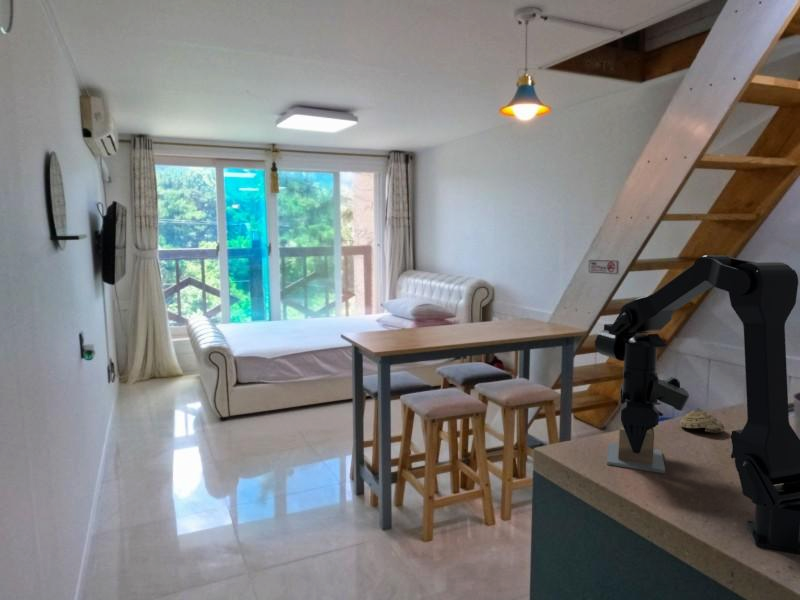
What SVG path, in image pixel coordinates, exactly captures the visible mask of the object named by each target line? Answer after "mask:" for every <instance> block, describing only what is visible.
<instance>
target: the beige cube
mask: <svg viewBox="0 0 800 600" xmlns="http://www.w3.org/2000/svg"><path fill="white" fill-rule="evenodd" d="M618 431H619V432H618V444H619V449H618V459H621V460H627V461H634V462H641V463H647V464H653V449H655V448H654V446H655V445H654V444H655V430H654V427H653V428H651V429H649V430H648V431H647V433H646V435H645V438H644V441H643V444H642V447H641V450H640V453H634V452H633V450H632V448H631V445H630V442H629V440H628V437H627V435H626V432H625V429H624V427H623V424H622V423H621V419H619V430H618Z"/></svg>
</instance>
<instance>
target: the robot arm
mask: <svg viewBox="0 0 800 600" xmlns="http://www.w3.org/2000/svg"><path fill="white" fill-rule="evenodd" d="M712 287H715V288H716V289H720V290H723V291H725V292H728V297H729V302H730V306H731V308H732V309H733V311H734V312H735V314H736V315H737V316H738V318H739V320H740V321H741V322H742V327H743V344H744V345H743V346H744V348H743V350H744V367H745V368H744V369H745V371H744V372H745V391H746V395H745V396H746V411H747V412H746V415H747V420H746V423H745V424H744V426H743V428H742V429H737V430H736V429H734V430H732V431H731V434H730V439H731V445H732V452H731V454H730V458H731V459H734V464H735V465H734V466H735V469H736V471H737V473H738V479H739V481H740V485H741V490H742V494H743V496H744V497H746V498H748V499H750V500H751V503H753V504H754V505H755V506H754V516H753V519H754V520H746V522H745V525H746V526H747V529H748V531H749V533H750V535H751V538H752V540H753V542H754V544H755V545H756V546H757V547H761V548H767V549H771V550H778V551H783V552H788V553H792V554H799V555H800V438H799V436H798V434H797V433H796V432H795V430H794V429H793V427H792V426H791V424H790V417H789V415H790V414H789V395H788V393H789V391H788V374H787V370H788V369H787V353H786V352H787V349H786V347H787V346H786V327H785V326H786V322H787V320H788V318H789V316H790V315H791V313H792V310H793V309H794V308H795V306H796V303H797V296H798V290H799V288H798V287H799V276H798V273H797V271H796V269H793V268H792V267H791V266H790V265H788V264H786V263H784V262H779V261H777V262H776V261H774V262H773V261H772V262H771V261H768V262H767V261H766V262H762V261H761V262H755V261H751V260H750V261H749V260H744V259H739V258H734V257H730V256H728V255H725V254H713V255H712V254H711V255H708V254H706V255H701V256H700V257H698V258H696V259H695V260H694V263H693V264H692V265H690V266H689V267H687V268H686V269H684V270H683V271H682V272H680V273H679V274H677V275H676V276H675V277H674V278H672V279H671V280H669V281H668V282H667V283H666V284H664V285H663V286H661V287H660V288H658V289H657V290H655V292H653V293H651V294H649V295H645V296H641V297H638V298H635V299H632V300H631V301H629V302H626V303H625V304H624V305H622V307H621V308H620V311H619V312H620V313H619V314H618V315H617V317H616V318H615V320H614V322H613V323H604V324H603V329H602V330H601V331H600V332H599V333H598V334H597V335H596V338H595V340H594V347H595V350H596V351H597V353H598V354H600V355H601V356H605V357H609V358H611V359H614V360H616V361H621V362H623V368H622V369H623V370H622V384H621V385H620V389H619V390H620V392H619V395H620V396H619V397H620V403H621V405H620V420H621V423H622V424H623V427H624V429H625V432H626V435H627V437H628V440H629V442H630V445H631V448H632V450H633V452H634V453H640V450H641V447H642V444H643V441H644V438H645V435H646V433H647V431H648V430H649V429H651V428H653V429H654V428H655V427H657V426H659V422H660V421H659V420H660V419H659V417H660V413H659V410H658V408H657V407H656V406H655V405H654V404H658V401H659V402H661V403H664V404H666V405H668V406H670V407H672V408H674V409H675V410H677V411H681V412H682V411H683V409H684V407H685V405H686V404H687V402H688V400H689V397H690V395H689V392H688V391H687V390H686V389H685V387H684V388H683V387H681V382H680V380H679V379H678V378H676V377H673V376H670V377H669V378H668V379H666V380H664V379H663V380H662V379H660V378H659V376H658V372H657V363H658V362H657V359H658V349H659V348H666V347H667V345H668V344H667V343H666V342H665V341H664V340H663V339H662V338H661V336H660V335H659V334H658V333H651V332H659V331H661V330H663V328H665V326H667V325H668V324H669V323H670V321H672V318H673V314H674V313H675V312H676V311H677V310H679V309H680V308H682V307H683V306H684V305H686V304H688V303H689V302H691V301H692V300H694V299H696V298H697V297H699V296H700V295H702V294H703V293H705V292H706V291H708V290H709V289H711V288H712ZM650 333H651V334H650ZM645 334H647V335H645Z"/></svg>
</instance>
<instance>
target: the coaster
mask: <svg viewBox="0 0 800 600" xmlns="http://www.w3.org/2000/svg"><path fill="white" fill-rule="evenodd" d="M618 449H619V443H613V442H607V455H606V456H607V459H606V460H607V461H606V465H607V466H614V467H623V468H627V469H635V470H640V471H641V470H642V471H646V472H647V471H648V472H655V473H659V474H660V473H661V474H666V466H665V463H664V457H663V453H662V449H657V448H653V464H647V463H641V462H634V461H627V460H621V459H618Z"/></svg>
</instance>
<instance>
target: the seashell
mask: <svg viewBox="0 0 800 600" xmlns="http://www.w3.org/2000/svg"><path fill="white" fill-rule="evenodd" d="M679 425H680V426H681V427H683V428H687V429H702V428H703V429H705V430H704V432H706V433H710V434H711V433H713V434H714V433H721V432H722V433H723V432H724V431H725V430H726V427H725V425H724V423H722V421H721V420H719V419H717V418H716V417H715V416H714V415H712V414H711V413H709V412H707V411H705V410H703V409H701V408H695V409H694V410H691V411H690V412H688V413H687V414H685V415H684V417H682V419H681V420H680V422H679Z"/></svg>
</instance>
